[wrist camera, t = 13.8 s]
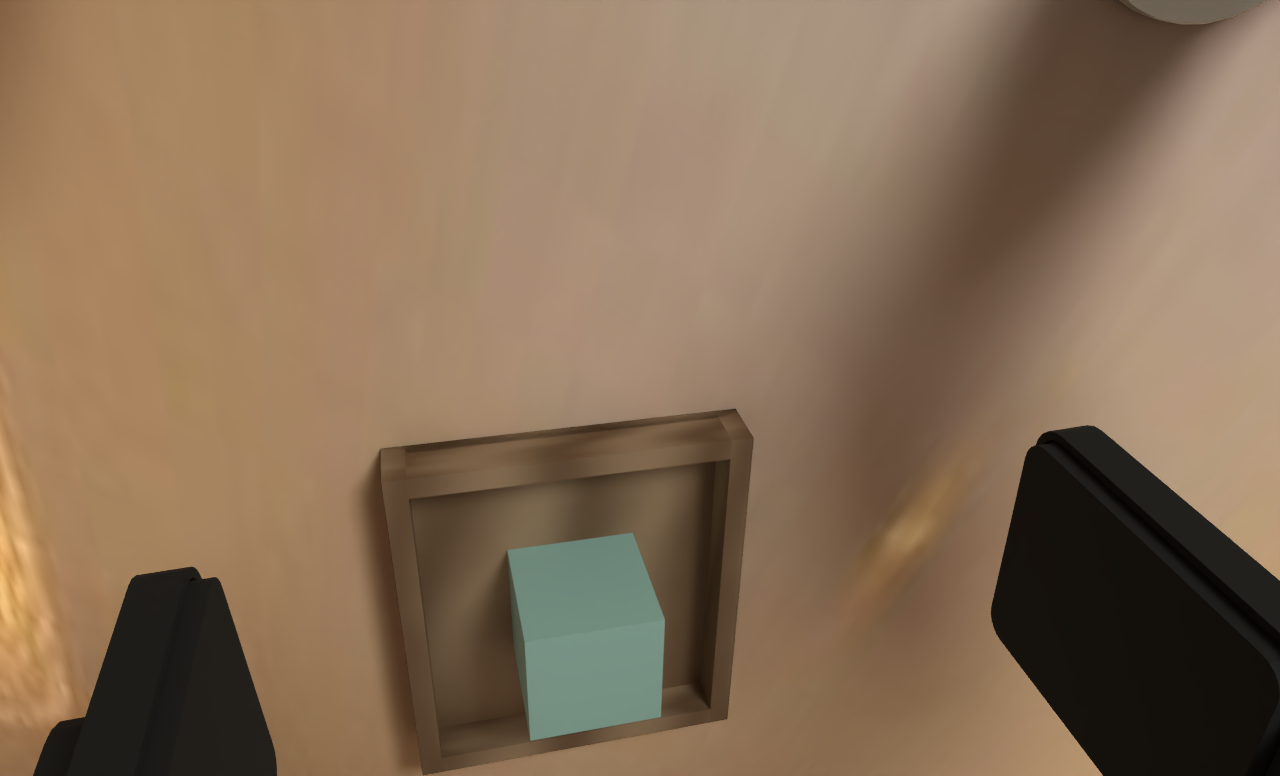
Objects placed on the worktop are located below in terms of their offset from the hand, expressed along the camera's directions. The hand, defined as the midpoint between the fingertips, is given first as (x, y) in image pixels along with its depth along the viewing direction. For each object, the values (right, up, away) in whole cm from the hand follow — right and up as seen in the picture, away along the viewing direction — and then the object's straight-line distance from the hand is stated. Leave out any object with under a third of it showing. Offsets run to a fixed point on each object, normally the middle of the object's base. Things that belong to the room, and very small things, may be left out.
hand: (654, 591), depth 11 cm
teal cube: (-4, -7, +36) cm, 37 cm away
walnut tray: (-4, -7, +36) cm, 37 cm away
